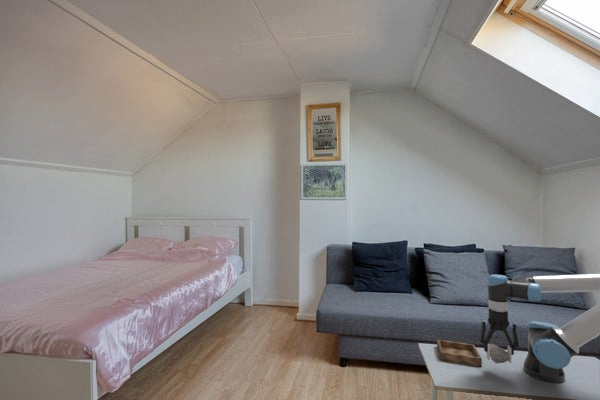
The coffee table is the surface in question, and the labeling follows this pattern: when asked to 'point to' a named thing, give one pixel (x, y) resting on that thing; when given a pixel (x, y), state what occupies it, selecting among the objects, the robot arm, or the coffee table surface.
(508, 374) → the coffee table surface
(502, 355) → the stone
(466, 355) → the tray
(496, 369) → the coffee table surface
